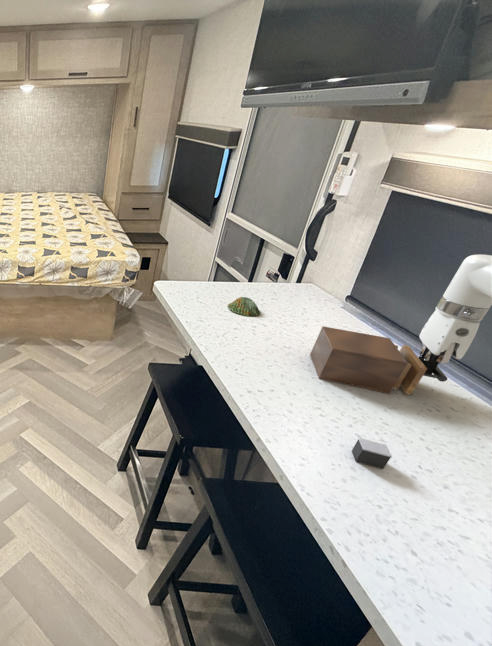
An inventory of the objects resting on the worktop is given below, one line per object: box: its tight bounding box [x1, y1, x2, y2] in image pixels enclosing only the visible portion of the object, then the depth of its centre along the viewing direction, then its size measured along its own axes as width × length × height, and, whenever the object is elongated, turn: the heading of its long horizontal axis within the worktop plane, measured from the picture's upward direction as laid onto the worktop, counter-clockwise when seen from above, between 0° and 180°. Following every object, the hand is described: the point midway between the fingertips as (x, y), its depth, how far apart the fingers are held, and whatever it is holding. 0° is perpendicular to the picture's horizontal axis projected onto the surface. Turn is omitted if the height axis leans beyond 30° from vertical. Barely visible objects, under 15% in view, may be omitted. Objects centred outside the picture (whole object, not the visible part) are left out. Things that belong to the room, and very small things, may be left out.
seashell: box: [227, 296, 261, 317], centre depth 140 cm, size 10×4×10 cm
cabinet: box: [309, 326, 408, 395], centre depth 105 cm, size 15×13×10 cm
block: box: [351, 437, 393, 470], centre depth 81 cm, size 4×3×4 cm
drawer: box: [393, 344, 448, 395], centre depth 102 cm, size 19×11×8 cm, turn 63°
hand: (421, 372), depth 100 cm, fingers closed
